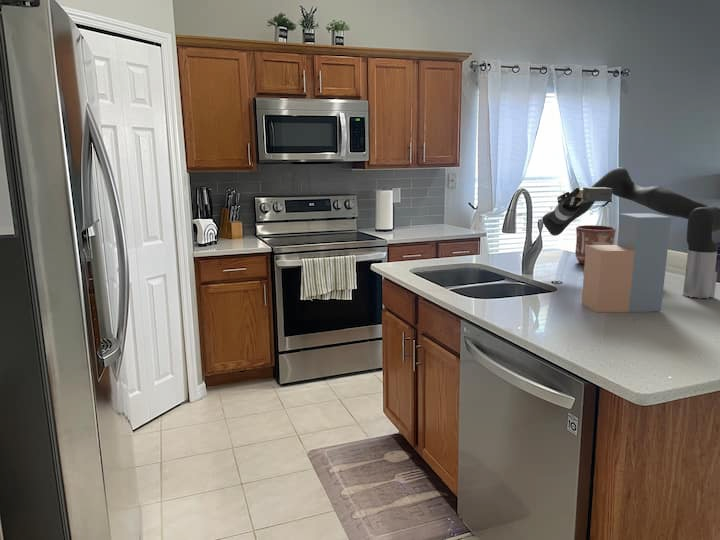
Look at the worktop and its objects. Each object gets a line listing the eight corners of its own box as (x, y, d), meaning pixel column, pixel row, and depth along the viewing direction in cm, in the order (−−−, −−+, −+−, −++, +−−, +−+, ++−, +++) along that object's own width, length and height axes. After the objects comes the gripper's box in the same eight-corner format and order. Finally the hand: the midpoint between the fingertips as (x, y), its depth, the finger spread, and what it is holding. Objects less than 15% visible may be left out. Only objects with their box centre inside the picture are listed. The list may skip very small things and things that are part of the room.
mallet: (566, 196, 216) (567, 184, 215) (587, 196, 216) (588, 184, 215) (588, 201, 195) (590, 188, 194) (611, 201, 195) (612, 188, 194)
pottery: (565, 262, 271) (568, 226, 267) (591, 259, 278) (594, 224, 274) (593, 269, 255) (597, 231, 251) (620, 266, 262) (624, 228, 258)
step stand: (642, 302, 197) (651, 213, 191) (660, 311, 186) (671, 217, 179) (581, 303, 197) (588, 213, 190) (596, 312, 185) (604, 217, 179)
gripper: (548, 200, 227) (563, 180, 211) (582, 199, 227) (600, 180, 211) (550, 216, 225) (566, 198, 208) (585, 216, 225) (603, 198, 208)
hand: (583, 189), depth 210 cm, fingers closed on mallet, 3 cm apart
